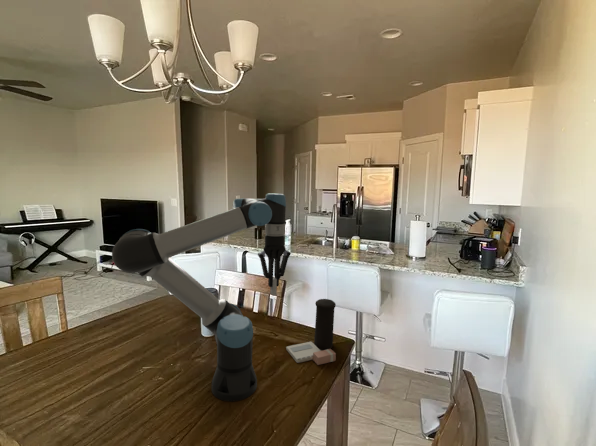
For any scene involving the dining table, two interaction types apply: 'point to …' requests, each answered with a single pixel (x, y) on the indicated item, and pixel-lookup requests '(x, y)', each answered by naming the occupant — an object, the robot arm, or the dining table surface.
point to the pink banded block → (324, 356)
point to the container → (324, 323)
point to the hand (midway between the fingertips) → (273, 294)
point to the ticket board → (302, 351)
